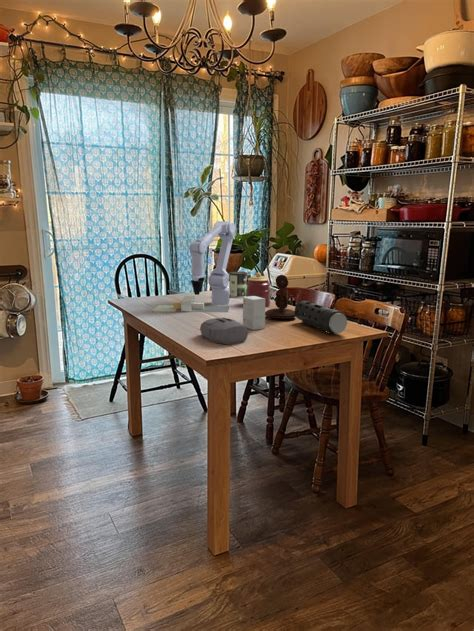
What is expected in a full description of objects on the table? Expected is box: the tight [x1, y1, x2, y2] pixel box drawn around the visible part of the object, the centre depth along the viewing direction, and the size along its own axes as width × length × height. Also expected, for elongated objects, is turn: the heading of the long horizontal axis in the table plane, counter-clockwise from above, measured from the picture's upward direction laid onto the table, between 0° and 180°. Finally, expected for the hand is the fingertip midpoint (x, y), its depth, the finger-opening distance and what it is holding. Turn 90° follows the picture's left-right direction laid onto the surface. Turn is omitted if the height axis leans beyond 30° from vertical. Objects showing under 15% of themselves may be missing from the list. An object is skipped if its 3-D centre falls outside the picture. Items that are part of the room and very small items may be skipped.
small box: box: [242, 296, 266, 331], centre depth 207 cm, size 8×6×13 cm
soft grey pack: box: [199, 317, 249, 345], centre depth 189 cm, size 15×8×20 cm
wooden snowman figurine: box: [265, 274, 297, 321], centre depth 226 cm, size 15×15×20 cm
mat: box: [152, 304, 230, 313], centre depth 245 cm, size 37×16×1 cm, turn 89°
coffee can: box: [228, 271, 248, 299], centre depth 283 cm, size 10×10×14 cm
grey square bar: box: [180, 295, 196, 313], centre depth 245 cm, size 5×15×5 cm, turn 179°
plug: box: [171, 301, 205, 309], centre depth 245 cm, size 16×3×3 cm, turn 87°
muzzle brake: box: [294, 300, 348, 335], centre depth 206 cm, size 10×28×10 cm, turn 23°
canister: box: [246, 272, 271, 308], centre depth 256 cm, size 13×13×18 cm
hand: (198, 293), depth 243 cm, fingers open, 7 cm apart
